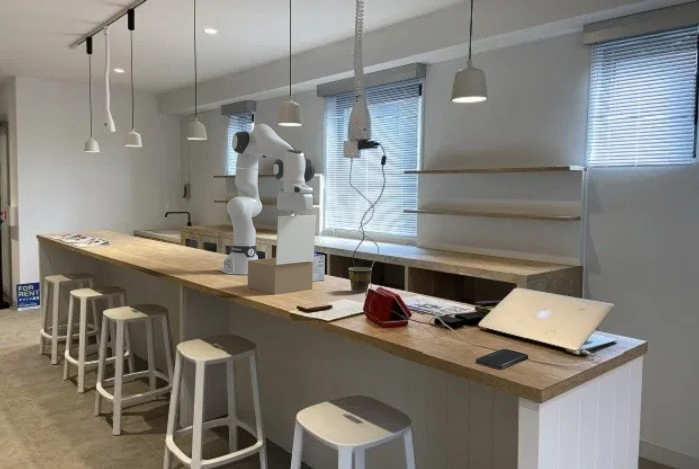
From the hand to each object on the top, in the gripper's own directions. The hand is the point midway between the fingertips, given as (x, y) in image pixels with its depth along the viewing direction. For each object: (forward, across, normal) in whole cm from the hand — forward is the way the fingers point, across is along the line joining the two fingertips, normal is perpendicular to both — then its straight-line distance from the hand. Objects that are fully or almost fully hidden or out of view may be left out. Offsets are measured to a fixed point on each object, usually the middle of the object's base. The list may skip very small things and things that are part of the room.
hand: (294, 221), depth 228 cm
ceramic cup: (+30, +17, +21) cm, 41 cm away
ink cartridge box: (+30, -17, +25) cm, 42 cm away
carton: (+30, -10, 0) cm, 31 cm away
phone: (+31, +107, -14) cm, 113 cm away
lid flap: (+7, +1, 0) cm, 7 cm away
